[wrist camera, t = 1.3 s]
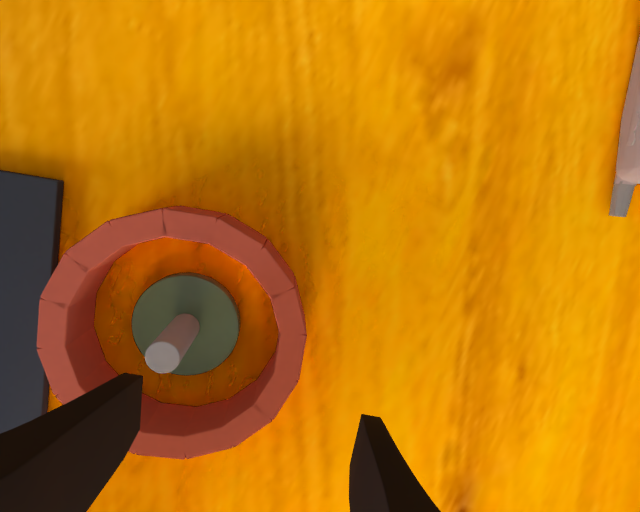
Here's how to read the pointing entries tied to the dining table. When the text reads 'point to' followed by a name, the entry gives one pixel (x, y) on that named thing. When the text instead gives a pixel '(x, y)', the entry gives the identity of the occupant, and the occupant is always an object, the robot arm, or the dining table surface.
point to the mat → (25, 289)
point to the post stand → (185, 324)
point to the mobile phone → (628, 145)
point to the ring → (92, 371)
